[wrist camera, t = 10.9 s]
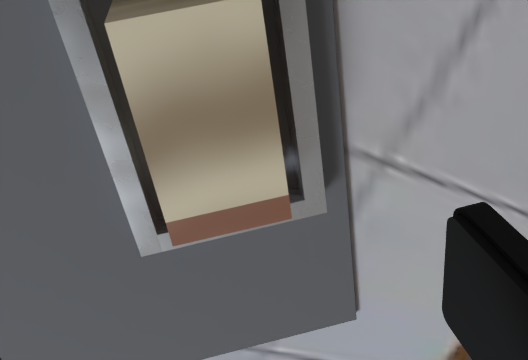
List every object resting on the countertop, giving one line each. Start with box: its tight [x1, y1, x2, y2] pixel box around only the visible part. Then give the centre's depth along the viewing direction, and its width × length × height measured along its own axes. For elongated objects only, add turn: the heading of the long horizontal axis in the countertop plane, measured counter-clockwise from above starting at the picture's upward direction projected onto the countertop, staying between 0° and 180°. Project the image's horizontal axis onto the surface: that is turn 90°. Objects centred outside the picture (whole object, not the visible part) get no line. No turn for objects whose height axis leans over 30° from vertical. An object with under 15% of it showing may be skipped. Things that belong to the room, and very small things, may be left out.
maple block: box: [104, 0, 292, 246], centre depth 20 cm, size 9×5×4 cm, turn 8°
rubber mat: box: [0, 0, 356, 360], centre depth 23 cm, size 23×24×1 cm
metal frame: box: [48, 0, 327, 257], centre depth 21 cm, size 9×13×2 cm
